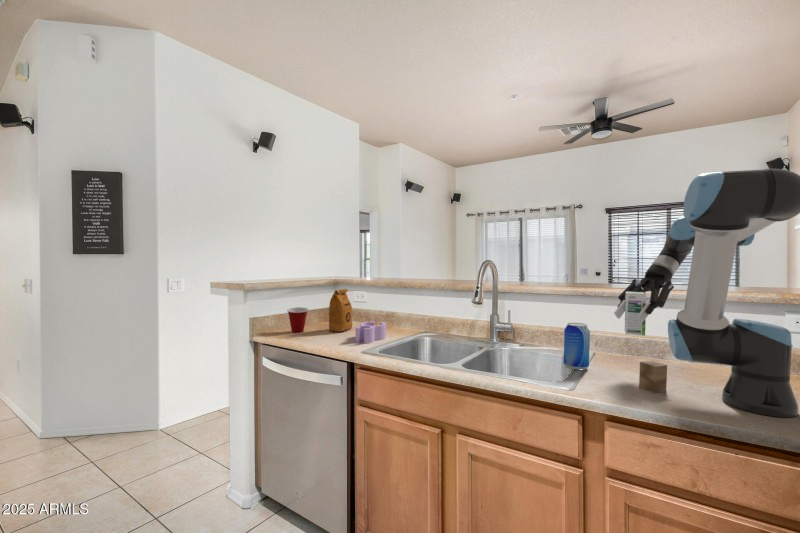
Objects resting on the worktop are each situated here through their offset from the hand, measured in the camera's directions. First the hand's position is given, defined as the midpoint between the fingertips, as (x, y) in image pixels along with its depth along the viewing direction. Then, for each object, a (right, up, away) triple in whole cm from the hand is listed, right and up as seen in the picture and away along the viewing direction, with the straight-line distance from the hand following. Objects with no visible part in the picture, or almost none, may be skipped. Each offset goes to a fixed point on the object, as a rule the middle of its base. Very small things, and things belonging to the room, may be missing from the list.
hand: (627, 317), depth 129 cm
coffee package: (-110, -17, +71) cm, 132 cm away
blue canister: (-14, -20, +9) cm, 25 cm away
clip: (-92, -18, +52) cm, 107 cm away
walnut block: (0, -20, -13) cm, 24 cm away
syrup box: (+3, -6, +1) cm, 7 cm away
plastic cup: (-131, -17, +66) cm, 148 cm away
